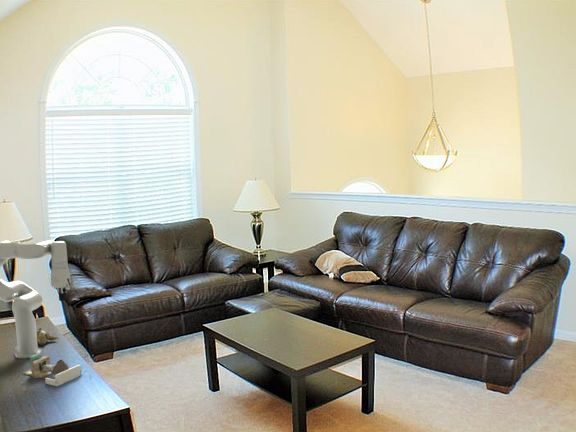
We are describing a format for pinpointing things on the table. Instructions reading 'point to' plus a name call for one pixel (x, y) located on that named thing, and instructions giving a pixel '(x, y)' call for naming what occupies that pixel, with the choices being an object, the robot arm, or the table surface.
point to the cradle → (65, 376)
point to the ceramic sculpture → (44, 336)
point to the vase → (60, 367)
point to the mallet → (41, 365)
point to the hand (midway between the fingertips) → (62, 300)
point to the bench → (35, 368)
